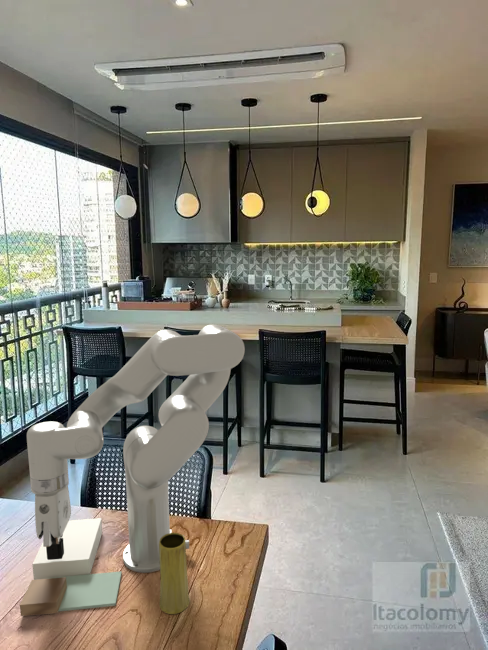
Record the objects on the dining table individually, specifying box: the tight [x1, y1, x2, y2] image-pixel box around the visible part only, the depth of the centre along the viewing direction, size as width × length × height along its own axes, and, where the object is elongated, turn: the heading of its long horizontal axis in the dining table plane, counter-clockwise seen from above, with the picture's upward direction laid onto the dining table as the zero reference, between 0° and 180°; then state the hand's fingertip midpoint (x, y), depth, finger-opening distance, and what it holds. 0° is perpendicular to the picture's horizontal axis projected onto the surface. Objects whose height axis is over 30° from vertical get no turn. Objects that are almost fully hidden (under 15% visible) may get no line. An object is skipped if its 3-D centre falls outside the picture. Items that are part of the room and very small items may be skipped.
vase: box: [158, 532, 190, 615], centre depth 94 cm, size 6×6×14 cm
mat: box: [47, 570, 122, 612], centre depth 98 cm, size 16×10×1 cm, turn 97°
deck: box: [31, 517, 103, 580], centre depth 110 cm, size 12×16×4 cm
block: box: [19, 577, 67, 617], centre depth 95 cm, size 7×7×2 cm
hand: (55, 556), depth 102 cm, fingers closed
